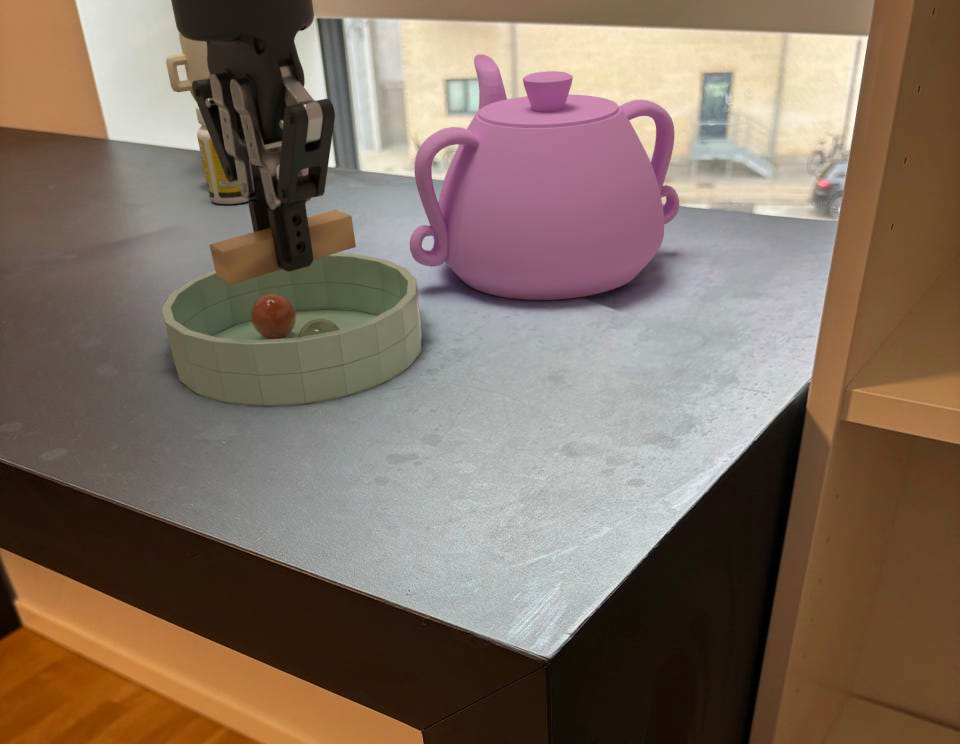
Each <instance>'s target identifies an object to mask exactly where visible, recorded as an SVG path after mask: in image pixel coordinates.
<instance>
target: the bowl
mask: <svg viewBox="0 0 960 744" xmlns="http://www.w3.org/2000/svg"><path fill="white" fill-rule="evenodd" d="M418 289H419V288H418V280H417V278H416V277H415V276H414V275H413V274H412V273H411V272H410V271H409V270H408V269H407V268H406V267H405V266H402V265H399V264H397V263H395V262H392V261H390V260H388V259H385V258H380V257H375V256H370V255H364V254H359V253H343V252H338V253H335V254H331V255H328V256H325V257H321V258H318V259H315V260H313V262H312V264H311V265H310V266H308V267H304V268H301V269H297V270H294V271H290V272H288V271H285V270H283V269H281V270H278V271H274V272H271V273H268V274H264V275H261V276H258V277H254V278H251V279H248V280H244V281H241V282H238V283H234V284H229V283H227V282H225V281H224V280H222V279H220V278H218V277H217V276H216V271H215V269H213V270H212V271H209V272H207V273H204V274H202V275H199V276H197V277H194V278H192V279H190V280H188V281H187V282H185V283H183V284H182V285H181V286H179V287H178V288H176V289H175V290H174V291H172V292H171V293H170V294H169V295H168V297H167V298H166V300H165V301H164V303H163V305H162V306H161V308H160V310H161V313H162V314H161V315H162V317H163V321H164V326H165V330H166V333H167V338H168V342H169V346H170V351H171V354H172V358H173V362H174V366H175V369H176V373H177V377H178V380H179V381H180V382H181V383H183V385H184V386H185V387H187V388H188V389H189V390H191V391H193V392H194V393H195V394H197V395H200V396H203V397H205V398H207V399H211V400H215V401H218V402H222V403H228V404H231V405H232V404H233V405H243V406H252V407H254V406H255V407H256V406H257V407H283V406H296V405H297V406H298V405H305V404H314V403H321V402H325V401H331V400H337V399H339V398H344V397H347V396H348V397H349V396H351V395H354V394H357V393H361V392H364V391H367V390H370V389H372V388H374V387H377V386H380V385H382V384H384V383H386V382H388V381H390V380H392V379H394V378H395V377H397V376H398V375H400V374H402V373H403V372H404V371H405V370H407V369H408V368H409V367H411V365H412V364H414V362H415V361H416V360H417V358H418V357H419V355H421V353H422V340H423V339H422V338H423V336H422V335H423V334H422V322H421V312H420V301H419V290H418ZM271 293H274V294H279V295H281V296H283V297H285V298H286V299H288V300H289V301H290V303H291V304H292V305H293V307H294V310H295V313H296V323H295V326H294V328H293V330H292V332H291V333H290V334H289V335H288V336H286V337H285V338H282V339H267V338H265V337H263V336H262V335H260V334H259V333H258V332H257V331H256V329H255V328H254V326H253V324H252V320H251V310H252V307H253V305H254V303H255V302H256V300H257V299H258V298H260V297H261V296H263V295H265V294H271ZM315 319H325V320H329V321H331V322H333V323H334V324H335V325H337V326H338V327H339V329H340V330H337V331H332V332H327V333H321V334H315V335H310V336H304V337H298V335H299V333H300V331H301V329H302V327H303V326H304V325H305V324H307V323H308V322H310V321H312V320H315Z"/></svg>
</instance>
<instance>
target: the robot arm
mask: <svg viewBox="0 0 960 744" xmlns="http://www.w3.org/2000/svg"><path fill="white" fill-rule="evenodd" d="M170 1H171V7H172V12H173V17H174V23H175V26H176V30H177V31H178V34H179V33H180V34H181V35H182V36H184V37H185V38H187V39H190V40H194V41H204V42H207V65H208V70H209V73H210V75H209V77H208V78H207V79H201V80H196V81H193V83H192V90H193V94H194V97H195V99H196V101H195V103H196V104H197V105H198V107H199V110H200V112H201V115H202V117H203V120H204V122H205V125H206V127H207V130H208V133H209V135H210V138H211V140H212V143H213V145H214V148H215V150H216V153H217V156H218V158H219V161H220V163H221V166H222V168H223V171H224V173H225V176H226V178H227V180H228V181H229V182H234V181H238V184H239V189H240V192H241V194H242V196H243V197H244V198H245V199H247V198H249V200H248V201H247V204H248V209H249V214H250V221H251V226H252V232H256V231H260V230H264V229H267V228H271V233H272V238H273V241H274V247H275V253H276V258H277V264H278V266H279V267H280V268H281V269H283V270H285V271H288V272H290V271H294V270H297V269H301V268H304V267H308V266H310V265H311V264H312V262H313V252H312V245H311V239H310V232H309V226H308V219H307V217H308V214H307V207H306V204H307V202H310V201H311V199H312V198H318V197H322V196H324V194H325V191H326V190H325V189H326V183H327V177H328V169H329V163H330V155H331V148H332V140H333V134H334V128H335V127H334V126H335V119H336V112H335V107H334V105H333V103H332V101H331V100H330V99H329V98H323V99H318V100H316V99H314V98H313V97H312V96H311V94H310V93H309V92H308V91H307V89H306V88H305V85H306V84H305V83H306V81H305V80H306V79H305V71H304V69H303V65H302V62H301V60H300V56H299V53H298V50H297V45H296V43H295V39H296V36H297V35H298V33H299V32H302V31H305V30H307V29H308V28H310V27H311V25H312V24H313V22H314V19H315V11H314V4H313V0H170ZM195 99H194V100H195Z"/></svg>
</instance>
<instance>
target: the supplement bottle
mask: <svg viewBox="0 0 960 744" xmlns="http://www.w3.org/2000/svg"><path fill="white" fill-rule="evenodd" d="M195 112H196V113H195V114H196V118H197V122H198V124H199V125H200V127H199V128H198V129H197V132H196V138H197V143H198V148H199V151H200V157H201V162H202V166H203V172H204V176H205V180H206V181H205V182H206V185H207V189H208V195H209V199H210V201H211V202H212V203H214V204H219V205H237V204H243V203H248V200H249V198H247V199H245V198H244V197H243V196H242V194H241V192H240V189H239V184H238V181H234V182H229V181H228V180H227V178H226V176H225V173H224V171H223V168H222V166H221V163H220V161H219V158H218V156H217V153H216V150H215V148H214V145H213V143H212V140H211V138H210V135H209V133H208V130H207V127H206V125H205V122H204V120H203V117H202V115H201V112H200V110H199V107H198V104H197V105H196V106H195Z"/></svg>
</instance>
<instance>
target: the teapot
mask: <svg viewBox="0 0 960 744" xmlns="http://www.w3.org/2000/svg"><path fill="white" fill-rule="evenodd" d="M473 65H474V69H475V72H476V76H477V82H478V83H477V84H478V111H477V112H476V113H475V115H474V116H473V118H472V119H471V121H470V123H469V125H468V126H467V128H464V127H460V126H459V127H458V126H450V127H445V128H442V129H440V130H437V131H436V132H433V133H432V134H431V135H430V136H428V137H427V138H426V139H425V140H424V141H423V143H422V144H421V145H420V146H419V148H418V149H417V152H416V155H415V159H414V167H413V168H414V169H413V170H414V179H415V184H416V188H417V192H418V195H419V198H420V201H421V204H422V207H423V210H424V212H425V214H426V218H427V221H428V223H429V225H427V224H423V225H420V226H417V227H416V228H415V229H414V230H413V231H412V234H411V235H410V238H409V239H410V240H409V251H410V254H411V257H412V259H413V260H414V261H415V262H416V263H418V264H420V265H422V266H425V267H438V266H441V265H443V264H444V263H445V264H446V265H447V266H448V267H449V268H450V269H451V270H452V272H454V273H455V275H457V277H458V278H459V279H460V280H461V281H462V282H463V283H465V285H468V287H470V288H472V289H473V290H476V291H479V292H480V293H481V292H482V293H484V294H488V295H492V296H495V297H502V298H507V299H515V300H527V301H556V300H567V299H575V298H576V299H577V298H582V297H588V296H593V295H598V294H601V293H605V292H609V291H612V290H615V289H617V288H620V287H622V286H624V285H627V284H628V283H629V282H631V281H632V280H634V279H635V278H636V277H637V276H638V275H639V274H640V273H641V271H642V270H644V268H645V267H647V265H648V264H649V263H650V262H651V260H652V259H653V258H654V256H656V254H657V253H658V251H659V250H660V248H661V247H662V243H663V240H664V236H665V225H667V224H668V223H670V222H671V221H672V220H673V219H675V217H676V216H677V215H678V214H679V213H678V212H679V211H680V198H679V194H678V193H677V191H676V189H675V188H673V186H670V185H665V184H664V183H665V180H666V177H667V173H668V171H669V166H670V163H671V160H672V156H673V151H674V144H675V125H674V122H673V119H672V117H671V114H670V113H669V112H668V111H667V110H666V109H665V108H664V107H663V106H661V105H660V104H659V103H656V102H654V101H651V100H648V99H633V100H630V101H627V102H625V103H623V104H621V105H619V104H618V103H617V102H615V101H613V100H611V99H609V98H605V97H600V96H595V95H587V94H586V95H585V94H571V93H570V90H571V87H572V84H573V79H574V77H573V75H572V74H570V73H568V72H566V71H558V70H557V71H556V70H555V71H553V70H549V71H548V70H547V71H539V72H533V73H529V74H527V75H525V76H523V78H522V83H523V88H524V90H525V94H526V96H517V97H512V98H508V97H507V93H506V89H505V85H504V82H503V78H502V74H501V71H500V68H499V66H498V64H497V63H496V62H495V60H494V59H493V58H492V57H491V56H488V55H486V54H483V53H482V54H481V53H479V54H476V55H475V56H474V58H473ZM639 117H648V118H651V119H652V120H653V122H654V125H655V142H654V147H653V151H652V152H653V153H652V156H651V160H650V157H649V155H648V153H647V151H646V149H645V147H644V145H643V143H642V142H641V140H640V137H639V136H638V134H637V132H636V130H635V128H634V126H633V125H632V122H631V120H634V119H636V118H639ZM455 145H458V146H457V148H456V151H455V153H454V155H453V156H452V159H451V161H450V163H449V165H448V169H447V171H446V174H445V176H444V179H443V182H442V185H441V189H440V192H439V197H438V198H437V194H436V191H435V187H434V183H433V174H432V168H433V167H432V166H433V163H434V159H435V157H436V156H437V154H438V153H440V151H442V150H444V149H446V148H448V147H451V146H455ZM664 197H665V203H664V204H663V200H662V198H664ZM426 237H433V246H432V248H431V249H430V250H426V249H424V248H423V241H424V239H425V238H426Z"/></svg>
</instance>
